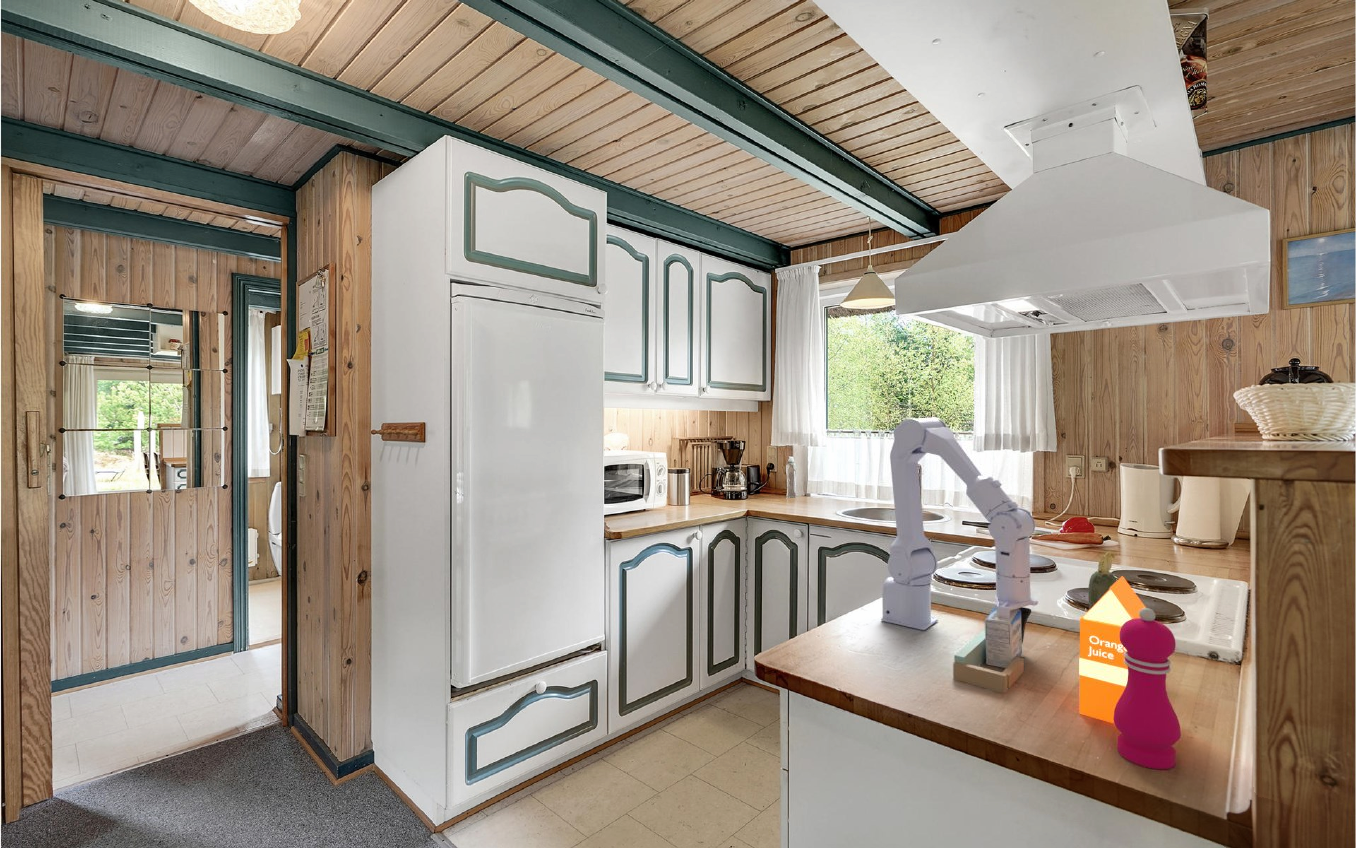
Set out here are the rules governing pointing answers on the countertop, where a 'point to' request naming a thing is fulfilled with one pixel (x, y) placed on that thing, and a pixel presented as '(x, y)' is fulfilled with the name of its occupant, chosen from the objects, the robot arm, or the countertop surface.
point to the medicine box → (1003, 638)
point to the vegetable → (1101, 579)
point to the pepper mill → (1147, 694)
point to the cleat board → (972, 674)
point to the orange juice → (1105, 651)
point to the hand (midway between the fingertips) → (1014, 646)
